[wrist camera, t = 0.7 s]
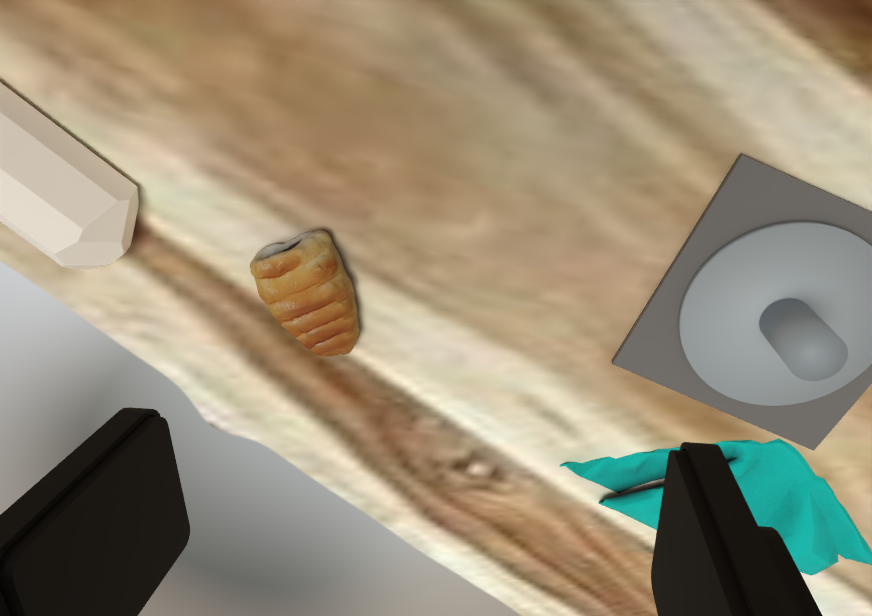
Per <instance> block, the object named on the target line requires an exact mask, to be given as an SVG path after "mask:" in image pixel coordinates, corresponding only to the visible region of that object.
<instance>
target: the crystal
mask: <svg viewBox="0 0 872 616" xmlns="http://www.w3.org/2000/svg"><path fill="white" fill-rule="evenodd" d="M15 123H16V124H15ZM19 126H20V127H19ZM23 129H24V130H23ZM27 132H28V133H27ZM31 135H32V136H31ZM35 138H36V139H35ZM88 178H89V179H88ZM92 181H93V182H92ZM138 206H139V198H138V187H137V186H136V185H134V184H133V183H132V182H131V181H129V180H128V179H127V178H125V177H124V176H123V175H121V174H120V173H119V172H117V171H116V170H115V169H113V168H112V167H111V166H110V165H108V164H107V163H106V162H104V161H103V160H102V159H100V158H99V157H98V156H96V155H95V154H94V153H92V152H91V151H90V150H89V149H87V148H86V147H85V146H83V145H82V144H81V143H79V142H78V141H77V140H75V139H74V138H73V137H71V136H70V135H69V134H68V133H66V132H65V131H64V130H62V129H61V128H60V127H58V126H57V125H56V124H54V123H53V122H52V121H50V120H49V119H48V118H46V117H45V116H44V115H43V114H41V113H40V112H39V111H37V110H36V109H35V108H33V107H32V106H31V105H29V104H28V103H27V102H25V101H24V100H23V99H22V98H20V97H19V96H18V95H16V94H15V93H14V92H12V91H11V90H10V89H8V88H7V87H6V86H4V85H3V84H2V83H1V82H0V222H2V223H3V224H4V225H6V226H7V227H9V228H10V229H11V230H13V231H14V232H16V233H17V234H18V235H20V236H21V237H22V238H24V239H25V240H27V241H28V242H29V243H31V244H32V245H34V246H35V247H36V248H38V249H39V250H40V251H42V252H43V253H45V254H46V255H47V256H49V257H50V258H52V259H53V260H54V261H56V262H57V263H58V264H60V265H61V266H63V267H68V268H75V269H94V268H98V267H102V266H106V265H109V264H110V263H112V262H113V261H115V260H116V259H118V258H119V257H120V256H122V255H123V254H125V252H126V251H127V250H128V248H129V247H130V246H131V242H132V237H133V232H134V226H135V221H136V216H137V211H138Z"/></svg>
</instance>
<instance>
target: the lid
mask: <svg viewBox="0 0 872 616" xmlns="http://www.w3.org/2000/svg"><path fill="white" fill-rule="evenodd" d="M678 330H679V337H680V341H681V345H682V348H683V350H684V353H685V355H686V357H687V359H688V361H689V363H690V364H691V366H692V368H693V369H694V371H695V372H696V373H697V374H698V376H699V377H700V378H701V379H702V380H703V381H704V382H706V383H707V384H708V385H709V386H710V387H712V388H713V389H715V390H716V391H718V392H720V393H722V394H723V395H725V396H727V397H730V398H732V399H735V400H738V401H741V402H745V403H750V404H756V405H764V406H782V405H792V404H797V403H803V402H807V401H810V400H814V399H817V398H820V397H822V396H825V395H827V394H830V393H832V392H834V391H836V390H838V389H839V388H841V387H843V386H845V385H846V384H848V383H849V382H851V381H852V380H854V379H855V378H856V377H858V376H859V375H860V374H861V373H862V372H864V371H865V370H866V369H867V368H868V367H869V366H870V365H871V364H872V246H871V245H869V244H868V243H867V242H865V241H864V240H863V239H861V238H859V237H858V236H856V235H854V234H853V233H851V232H849V231H847V230H845V229H842V228H840V227H837V226H834V225H831V224H826V223H822V222H815V221H785V222H779V223H773V224H769V225H765V226H762V227H758V228H756V229H753V230H751V231H748V232H746V233H744V234H742V235H740V236H738V237H736V238H734V239H732V240H731V241H729V242H728V243H726V244H725V245H723V246H722V247H720V248H719V249H718V250H717V251H715V252H714V253H713V254H712V255H711V256H710V257H709V258H708V259H707V260H706V261H705V262H704V263H703V264H702V265H701V266H700V267H699V269H698V270H697V271H696V273H695V274H694V276H693V277H692V279H691V281H690V282H689V284H688V286H687V288H686V290H685V293H684V295H683V298H682V301H681V305H680V309H679V317H678Z"/></svg>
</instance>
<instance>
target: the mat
mask: <svg viewBox="0 0 872 616" xmlns="http://www.w3.org/2000/svg"><path fill="white" fill-rule="evenodd" d="M785 221H815V222H822V223H826V224H831V225H834V226H837V227H840V228H842V229H845V230H847V231H849V232H851V233H853V234H854V235H856V236H858V237H859V238H861V239H863V240H864V241H865V242H867V243H868V244H869V245H871V246H872V212H870V211H868V210H866V209H863V208H861V207H859V206H857V205H854V204H852V203H850V202H848V201H845V200H843V199H841V198H839V197H836V196H834V195H832V194H830V193H827V192H825V191H823V190H821V189H818V188H816V187H814V186H812V185H810V184H807V183H805V182H803V181H801V180H798V179H796V178H794V177H792V176H789V175H787V174H785V173H783V172H780V171H778V170H776V169H774V168H771V167H769V166H767V165H765V164H763V163H760V162H758V161H756V160H754V159H751V158H749V157H747V156H745V155H742V154H740V155H739V157H738V158H737V160H736V161H735V163H734V165H733V166H732V168H731V169H730V171H729V173H728V174H727V176H726V177H725V179H724V181H723V182H722V184H721V186H720V187H719V189H718V190H717V192H716V194H715V195H714V197H713V198H712V200H711V202H710V203H709V205H708V206H707V208H706V210H705V211H704V213H703V215H702V216H701V218H700V219H699V221H698V223H697V224H696V226H695V227H694V229H693V231H692V232H691V234H690V235H689V237H688V239H687V240H686V242H685V244H684V245H683V247H682V248H681V250H680V252H679V253H678V255H677V256H676V258H675V260H674V261H673V263H672V264H671V266H670V268H669V269H668V271H667V273H666V274H665V276H664V277H663V279H662V281H661V282H660V284H659V285H658V287H657V289H656V290H655V292H654V293H653V295H652V297H651V298H650V300H649V302H648V303H647V305H646V306H645V308H644V310H643V311H642V313H641V314H640V316H639V318H638V319H637V321H636V322H635V324H634V326H633V327H632V329H631V331H630V332H629V334H628V335H627V337H626V339H625V340H624V342H623V343H622V345H621V347H620V348H619V350H618V351H617V353H616V355H615V356H614V358H613V360H612V364H614V365H616V366H619V367H621V368H623V369H626V370H628V371H630V372H633V373H635V374H637V375H640V376H642V377H644V378H647V379H649V380H651V381H654V382H656V383H658V384H661V385H663V386H665V387H667V388H670V389H672V390H674V391H677V392H679V393H681V394H684V395H686V396H688V397H691V398H693V399H695V400H698V401H700V402H702V403H705V404H707V405H709V406H712V407H714V408H716V409H719V410H721V411H723V412H726V413H728V414H730V415H732V416H735V417H737V418H739V419H742V420H744V421H746V422H749V423H751V424H753V425H756V426H758V427H760V428H763V429H765V430H767V431H770V432H772V433H774V434H777V435H779V436H781V437H784V438H786V439H788V440H790V441H793V442H795V443H797V444H800V445H802V446H804V447H807V448H809V449H811V450H815V449H816V447H817V446H818V445H819V444H820V443H821V442H822V440H823V439H824V438H825V437H826V436H827V435H828V433H829V432H830V431H831V430H832V429H833V428H834V426H835V425H836V424H837V423H838V422H839V421H840V420H841V418H842V417H843V416H844V415H845V414H846V413H847V411H848V410H849V409H850V408H851V407H852V406H853V404H854V403H855V402H856V401H857V400H858V399H859V397H860V396H861V395H862V394H863V393H864V392H865V391H866V389H867V388H868V387H869V386H870V385H871V384H872V364H871V365H870V366H869V367H868V368H867V369H866V370H865V371H864V372H862V373H861V374H860V375H859V376H858V377H856V378H855V379H854V380H852V381H851V382H849V383H848V384H846V385H845V386H843V387H841V388H839V389H838V390H836V391H834V392H832V393H830V394H827V395H825V396H822V397H820V398H817V399H814V400H810V401H807V402H803V403H797V404H792V405H782V406H764V405H756V404H750V403H745V402H741V401H738V400H735V399H732V398H730V397H727V396H725V395H723V394H722V393H720V392H718V391H716V390H715V389H713V388H712V387H710V386H709V385H708V384H707V383H706V382H704V381H703V380H702V379H701V378H700V377H699V376H698V374H697V373H696V372H695V371H694V369H693V368H692V366H691V364H690V363H689V361H688V359H687V357H686V355H685V353H684V350H683V348H682V345H681V341H680V337H679V330H678V317H679V309H680V305H681V301H682V298H683V295H684V293H685V290H686V288H687V286H688V284H689V282H690V281H691V279H692V277H693V276H694V274H695V273H696V271H697V270H698V269H699V267H700V266H701V265H702V264H703V263H704V262H705V261H706V260H707V259H708V258H709V257H710V256H711V255H712V254H713V253H714V252H715V251H717V250H718V249H719V248H720V247H722V246H723V245H725V244H726V243H728V242H729V241H731V240H732V239H734V238H736V237H738V236H740V235H742V234H744V233H746V232H748V231H751V230H753V229H756V228H758V227H762V226H765V225H769V224H773V223H779V222H785Z"/></svg>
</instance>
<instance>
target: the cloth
mask: <svg viewBox="0 0 872 616" xmlns="http://www.w3.org/2000/svg"><path fill="white" fill-rule="evenodd" d="M713 444H717V445H719V447H720V448H721V450H722V452H723V454H724V456H725V458H726V460H727V462H728V464H729V466H730V469H731V471H732V473H733V475H734V477H735V479H736V481H737V483H738V485H739V487H740V489H741V491H742V494H743V496H744V498H745V500H746V502H747V504H748V506H749V508H750V510H751V512H752V514H753V516H754V518H755V521H756V523H757V525H758V526H764V527H773V528H774V529H776V530H777V531H778V533H779V534H780V536H781V537H782V539H783V541H784V543H785V545H786V546H787V548H788V550H789V552H790V554H791V556H792V558H793V560H794V562H795V564H796V566H797V568H798V570H799V572H802V573H805V574H808V575H814V574H816V573H818V572H820V571H822V570H824V569H826V568H828V567H829V566H831V565H833V564H835V563H837V562H838V554H839V555H841V556H842V557H844V558H845V559H850V560H855V561H858V562H862V563H866V564H870V565H872V552H871V550H870V548H869V546H868V545H867V543H866V541H865V540H864V538H863V537H862V536H861V534H860V533H859V531H858V529H857V528H856V526H855V524H854V523H853V521H852V519H851V518H850V516H849V514H848V513H847V511H846V510H845V508H844V507H843V506H842V505H841V504H840V503H839V501H838V500H837V498H836V496H835V494H834V492H833V491H832V489H831V488H830V487H829V485H828V484H827V482H826V481H825V480H824V479H823V478H820V477H818V476H816V475H815V474H814V472H813V471H812V469H811V468H810V466H809V465H808V464H807V462H806V461H805V459H804V458H803V457H802V455H801V454H800V453H799V452H798V451H797V450H796V449H795V448H794V447H792V446H791V445H790V444H788V443H786V442H784V441H782V440H780V439H777V440H773V441H770V442H767V443H763V444H762V443H759V442H755V441H752V440H742V441H721V442H720V443H713ZM670 450H680V447H676V448H670V449H657V450H655V451H652V452H644V453H635V454H632V455H628V456H625V457H621V458H618V459H614V458H612V457H605V458H600V459H595V460H591V461H588V462H585V463H582V464H581V463H577V462H570V463H566V464H561V465H560V467H561V466H566V467H568V468H569V469H570V470H571V471H573V472H574V473H575V474H577V475H579V476H580V477H583V478H585V479H588V480H590V481H593V482H595V483H598V484H600V485H602V486H604V487H606V488H608V489H610V490H613V491H615V492H617V493H621V492H623V491H625V490H628V489H630V488H633V487H636V486H639V485H642V484H645V483H647V482H650V481H654V480H659V479H664V478H665V474H666V467H667V460H668V455H669V452H670ZM663 487H664V484H663V485H660V486H656V487H653V488H650V489H646V490H643V491H639V492H634V493H630V494H626V495H622V496H617V497H613V498H609V499H605V501H604V502H603V503H602V502H599V504H601V505H604V506H606V507H608V508H611V509H614V510H616V511H619V512H621V513H623V514H625V515H627V516H629V517H631V518H633V519H635V520H637V521H639V522H641V523H643V524H645V525H647V526H650V527H652V528H654V529H656V530H657V528H658V521H659V514H660V508H661V501H662V494H663Z"/></svg>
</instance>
